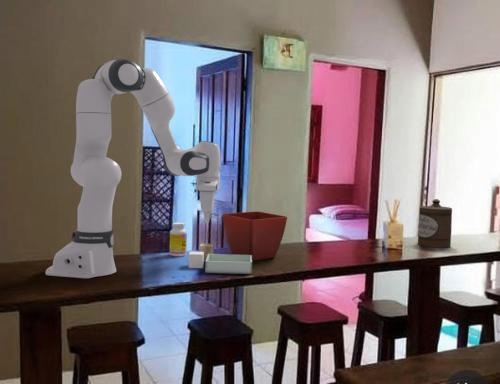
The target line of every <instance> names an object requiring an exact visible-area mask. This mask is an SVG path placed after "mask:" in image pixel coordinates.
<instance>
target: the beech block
mask: <svg viewBox="0 0 500 384" xmlns="http://www.w3.org/2000/svg"><path fill="white" fill-rule="evenodd" d="M199 252H204V262H205V263H206V259H207V256H208V254H215V244H214V243H200V245H199Z"/></svg>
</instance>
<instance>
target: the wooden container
mask: <svg viewBox="0 0 500 384" xmlns="http://www.w3.org/2000/svg"><path fill="white" fill-rule="evenodd" d="M440 203H441V200H439V199H436V198H435V199H433V200H432V204H430V205H421V206H419V215H418V216H419V219H418V228H417V229H418V230H417V232H418V233H417V234H418V235H417V236H418V237H417V244H418V245H419V246H423V247H426V248H427V247H428V248H435V249H436V248H439V249H445V248H447V249H448V248H450V247H451V244H452V226H453V225H452V221H453V220H452V219H453V216H452V214H453V208H452V207H449V206H442V205H441V204H440Z"/></svg>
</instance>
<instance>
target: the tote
mask: <svg viewBox="0 0 500 384" xmlns="http://www.w3.org/2000/svg"><path fill="white" fill-rule="evenodd" d="M204 264H205V267H204V270H205V274H206V273H207V274H235V275H237V274H240V275H242V274H243V275H252V274H253V261H252V255H232V253H231V254H228V253H222V254H221V253H214V254H208V256H207V259H206V262H205V263H204Z"/></svg>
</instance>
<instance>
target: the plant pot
mask: <svg viewBox="0 0 500 384" xmlns="http://www.w3.org/2000/svg"><path fill="white" fill-rule="evenodd" d="M287 220H288V216H285V215H280V214H275V213H269V212H264V211H257V210H256V211H243V212H232V213H222V224H223V228H224V232H225V237H226V240H227V244H228V247H229V250H230V253H231V254H232V255H252V262H254V261H260V260H266V259H272V258H276V255H277V253H278V251H279V249H280V245H281V243H282V241H283V238H284V234H285V231H286V226H287Z"/></svg>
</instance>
